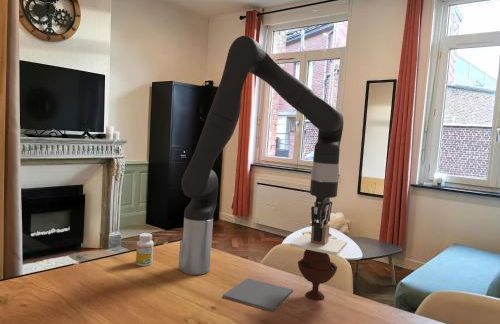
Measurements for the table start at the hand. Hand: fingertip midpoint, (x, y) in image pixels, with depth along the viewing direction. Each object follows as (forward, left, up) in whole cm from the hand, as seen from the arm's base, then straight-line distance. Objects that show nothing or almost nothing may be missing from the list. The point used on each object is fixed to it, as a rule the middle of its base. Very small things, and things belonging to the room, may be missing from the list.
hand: (319, 239), depth 105 cm
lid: (0, 0, -2) cm, 2 cm away
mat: (-14, -8, -17) cm, 23 cm away
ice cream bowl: (0, 0, -17) cm, 17 cm away
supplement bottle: (-56, -8, -17) cm, 59 cm away
